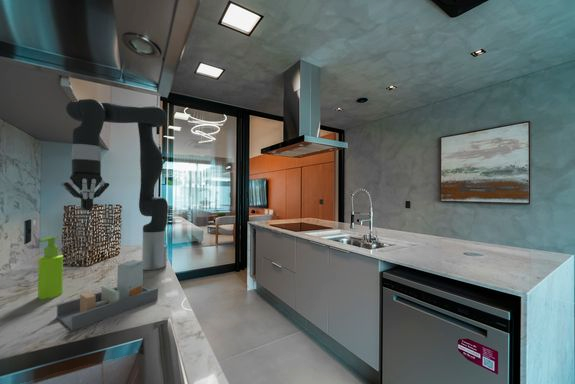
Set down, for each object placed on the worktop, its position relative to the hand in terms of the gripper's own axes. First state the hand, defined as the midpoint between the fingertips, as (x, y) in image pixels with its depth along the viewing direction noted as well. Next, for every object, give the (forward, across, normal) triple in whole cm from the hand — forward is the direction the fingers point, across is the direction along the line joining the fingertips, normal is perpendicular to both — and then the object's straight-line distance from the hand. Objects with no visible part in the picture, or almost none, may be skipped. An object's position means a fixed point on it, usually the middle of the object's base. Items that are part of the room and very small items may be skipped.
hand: (87, 210), depth 80 cm
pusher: (+28, +3, +17) cm, 33 cm away
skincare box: (+29, -6, +17) cm, 34 cm away
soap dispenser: (+29, +7, -10) cm, 32 cm away
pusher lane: (+29, 0, +16) cm, 34 cm away
